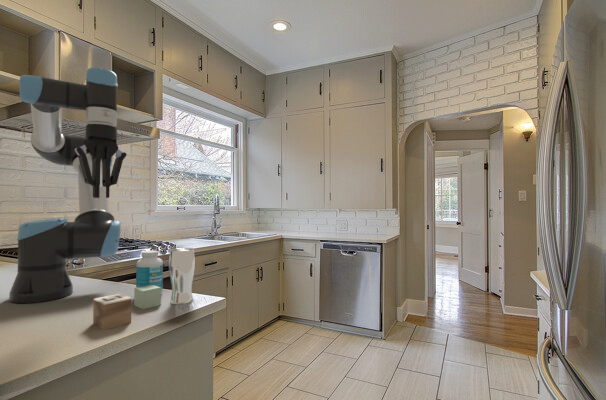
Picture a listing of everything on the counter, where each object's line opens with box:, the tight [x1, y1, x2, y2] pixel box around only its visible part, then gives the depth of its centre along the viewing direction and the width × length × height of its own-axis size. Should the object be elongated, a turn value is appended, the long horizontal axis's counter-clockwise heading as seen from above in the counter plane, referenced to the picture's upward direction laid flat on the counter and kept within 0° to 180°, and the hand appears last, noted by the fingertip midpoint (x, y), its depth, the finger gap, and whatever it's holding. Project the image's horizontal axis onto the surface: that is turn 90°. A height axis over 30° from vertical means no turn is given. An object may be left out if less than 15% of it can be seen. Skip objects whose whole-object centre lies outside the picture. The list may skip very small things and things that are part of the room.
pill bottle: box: [135, 250, 164, 295], centre depth 103 cm, size 8×7×14 cm
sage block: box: [133, 285, 162, 310], centre depth 94 cm, size 5×5×5 cm
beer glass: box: [168, 247, 196, 306], centre depth 97 cm, size 7×7×15 cm
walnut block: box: [92, 293, 132, 331], centre depth 80 cm, size 6×6×6 cm
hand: (101, 209), depth 94 cm, fingers closed
